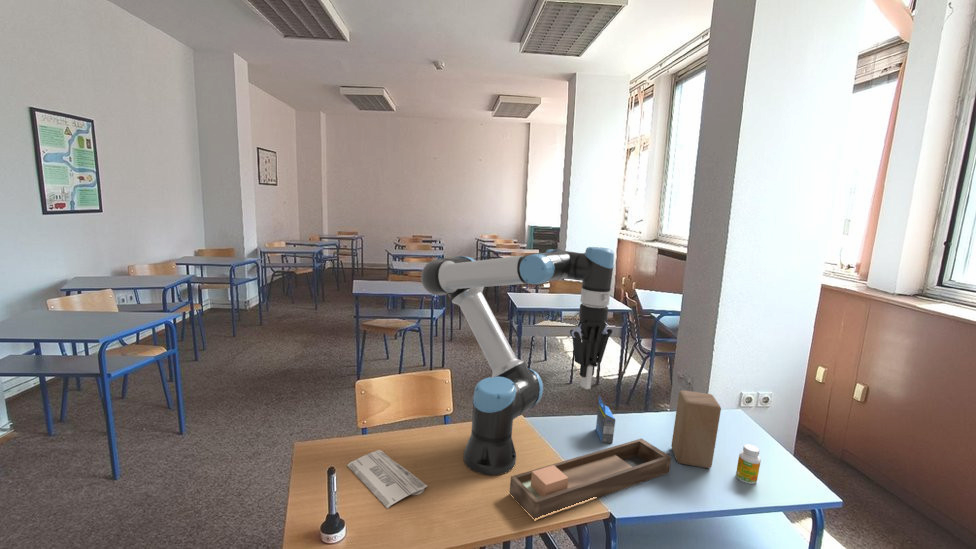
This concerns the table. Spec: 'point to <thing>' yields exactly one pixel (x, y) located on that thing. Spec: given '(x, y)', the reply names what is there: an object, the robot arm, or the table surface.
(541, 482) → the clay block
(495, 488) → the table surface
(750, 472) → the supplement bottle
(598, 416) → the blue retail box
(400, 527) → the table surface
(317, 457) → the table surface
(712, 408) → the block
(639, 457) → the channel
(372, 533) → the table surface
